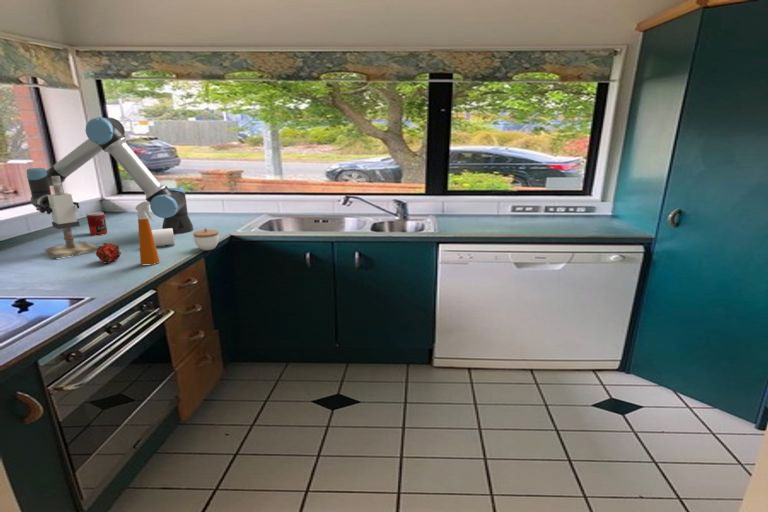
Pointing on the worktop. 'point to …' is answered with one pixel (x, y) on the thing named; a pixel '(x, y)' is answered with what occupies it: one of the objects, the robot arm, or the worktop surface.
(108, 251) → the dragon fruit
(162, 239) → the mug
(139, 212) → the spray bottle
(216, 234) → the lidded jar
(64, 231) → the pipe stand
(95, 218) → the canned food
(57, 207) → the sleeve
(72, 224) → the thin dark grey plate
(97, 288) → the worktop surface
